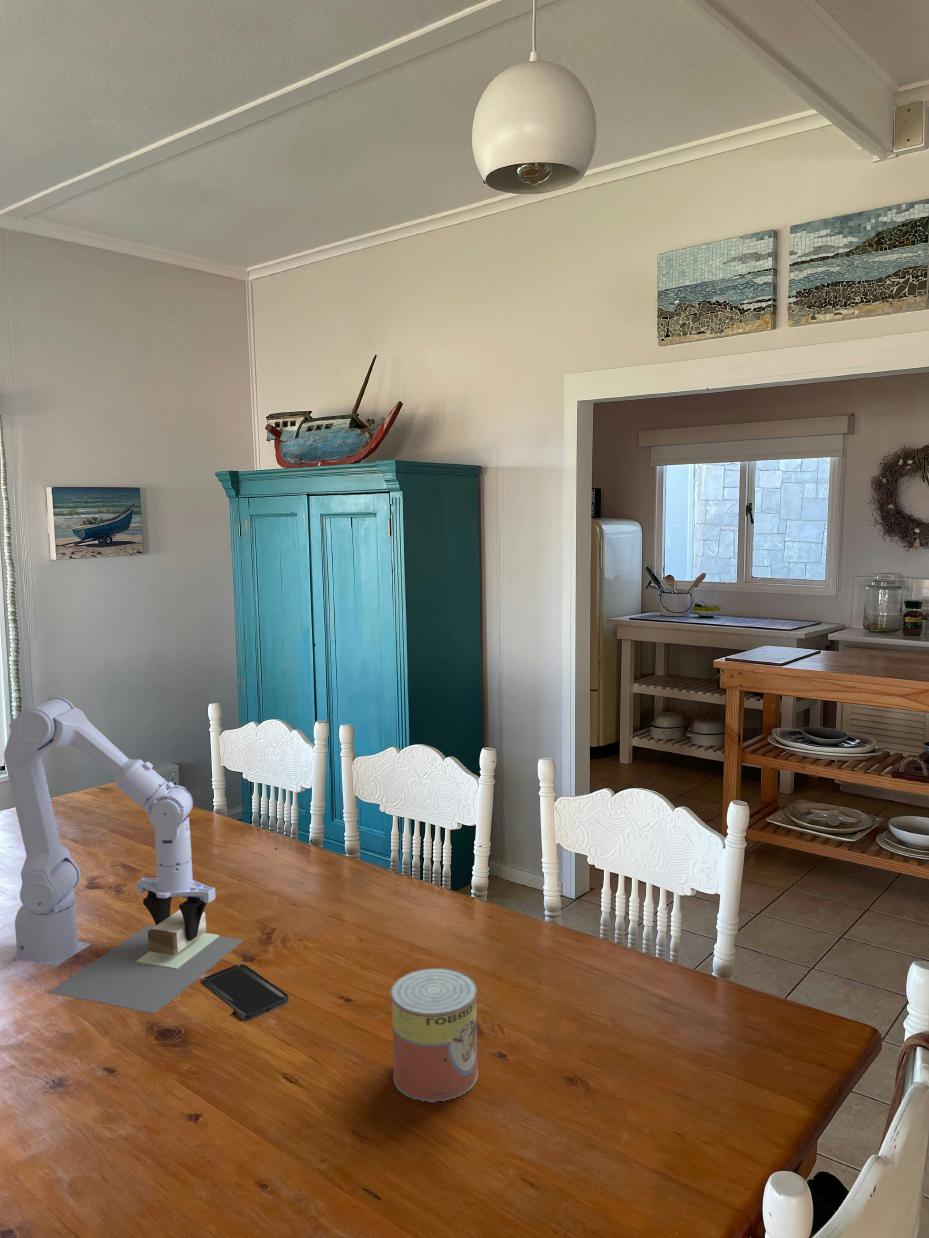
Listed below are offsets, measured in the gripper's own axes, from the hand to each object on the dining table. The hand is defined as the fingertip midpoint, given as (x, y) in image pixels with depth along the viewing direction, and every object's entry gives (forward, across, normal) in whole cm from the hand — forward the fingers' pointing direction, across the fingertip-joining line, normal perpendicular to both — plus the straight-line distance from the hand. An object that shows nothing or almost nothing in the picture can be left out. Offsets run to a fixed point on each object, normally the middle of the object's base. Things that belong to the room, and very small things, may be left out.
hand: (178, 935), depth 152 cm
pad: (+2, 0, 0) cm, 2 cm away
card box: (+1, 0, 0) cm, 1 cm away
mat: (+3, -1, -6) cm, 7 cm away
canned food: (+3, +54, -18) cm, 57 cm away
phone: (+3, +18, -8) cm, 20 cm away
